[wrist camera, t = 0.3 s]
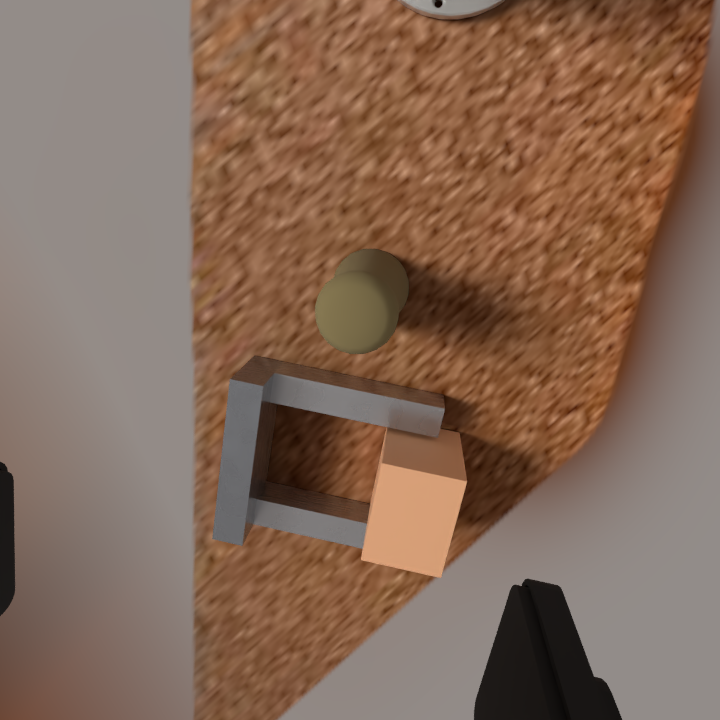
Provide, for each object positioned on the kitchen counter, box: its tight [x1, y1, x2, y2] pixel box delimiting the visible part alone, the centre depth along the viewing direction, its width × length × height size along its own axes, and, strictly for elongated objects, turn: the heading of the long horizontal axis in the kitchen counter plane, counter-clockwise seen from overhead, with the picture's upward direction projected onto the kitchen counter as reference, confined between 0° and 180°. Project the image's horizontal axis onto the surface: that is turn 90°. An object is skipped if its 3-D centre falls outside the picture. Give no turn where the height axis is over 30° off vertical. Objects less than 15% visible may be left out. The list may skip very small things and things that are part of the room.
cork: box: [315, 249, 409, 354], centre depth 37 cm, size 6×6×11 cm
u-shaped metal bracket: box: [212, 356, 445, 549], centre depth 44 cm, size 14×16×6 cm
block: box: [361, 427, 467, 578], centre depth 42 cm, size 8×6×8 cm
